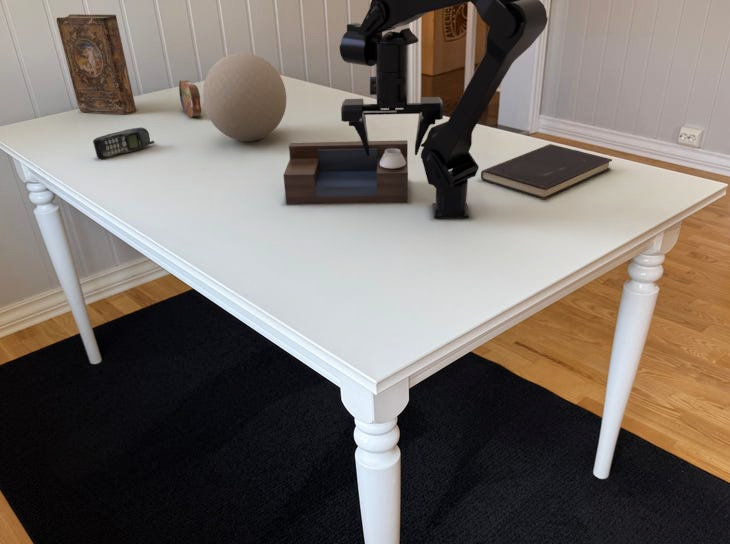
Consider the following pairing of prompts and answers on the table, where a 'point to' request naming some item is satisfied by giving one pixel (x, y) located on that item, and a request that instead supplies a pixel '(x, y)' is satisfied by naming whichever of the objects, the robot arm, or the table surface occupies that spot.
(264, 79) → the decorative sphere
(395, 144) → the toy sofa
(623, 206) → the table surface
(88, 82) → the book
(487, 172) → the hardcover book
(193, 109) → the tin
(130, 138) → the mobile phone
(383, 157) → the lidless jar
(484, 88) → the robot arm
